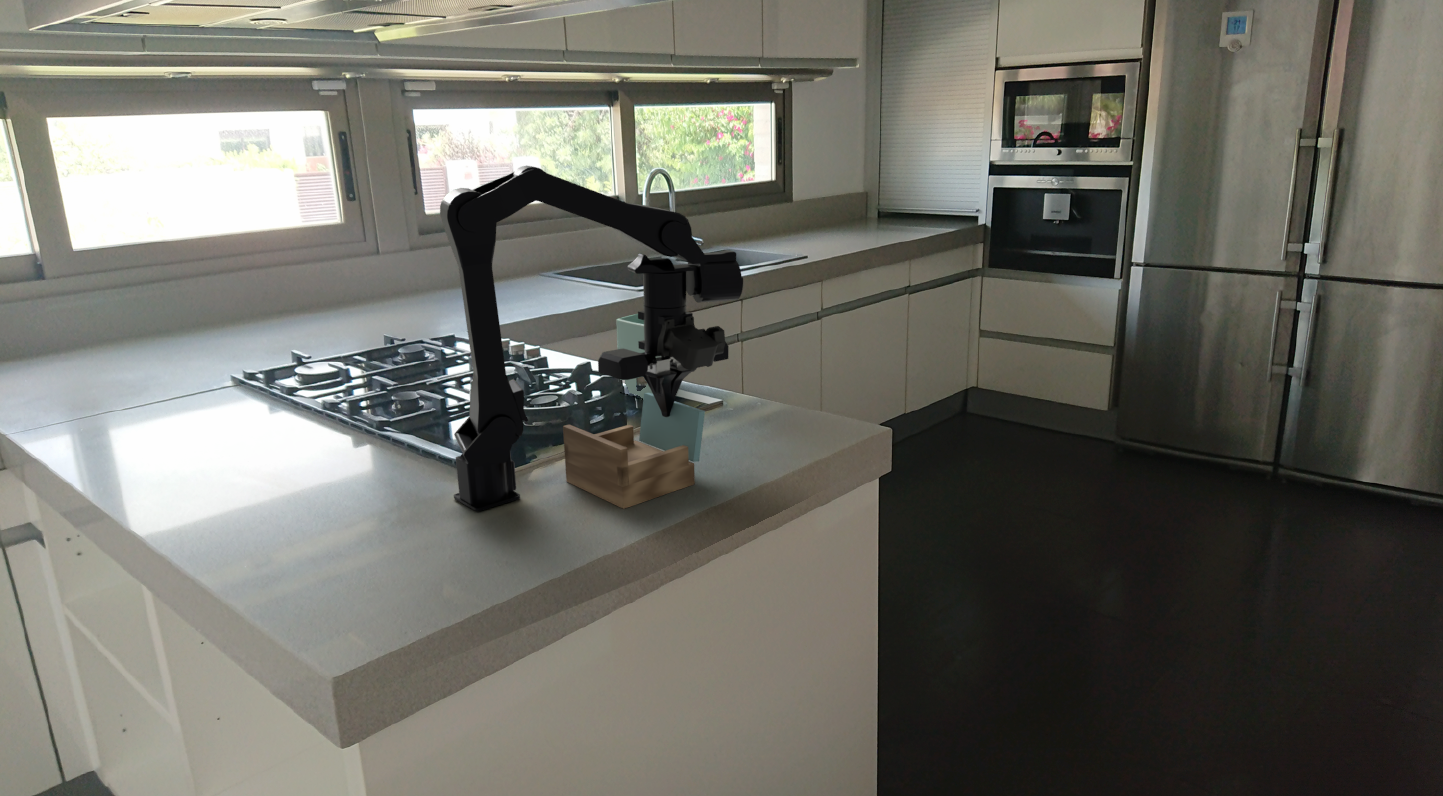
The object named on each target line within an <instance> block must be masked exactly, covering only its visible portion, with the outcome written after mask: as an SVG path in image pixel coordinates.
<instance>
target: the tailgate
mask: <svg viewBox="0 0 1443 796" xmlns="http://www.w3.org/2000/svg"><path fill="white" fill-rule="evenodd" d="M705 413H706V410H703V409H699V408H696V407H693V406H691V405H687V404H684V403H681V402H678V401H674V403H673V406H672V409H671V412H670V416H669V417H664V416H662V413H661V410H660V408H659V406H658V404H657V402H656V399H655V397H654V395H653V394H651V393H644V399H643V400H642V409H641V419H640V428H639V429H640V430H639V437H638V442H641V443H643V444H646V445H649V446H651V447H654V448H656V449H659V450H661V451H666V450H669V449H673V448H676V447H679V446H682V445H684V446H687V447H688V458H689V462H692V463H695V462H700V456H701V449H702V440H703V431H704V422H705V415H706V414H705Z"/></svg>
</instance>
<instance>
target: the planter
mask: <svg viewBox="0 0 1443 796" xmlns="http://www.w3.org/2000/svg"><path fill="white" fill-rule="evenodd" d="M615 321H616V324H615V325H616V342H617V343H616V345H617V349H623V348H624V349H627V350H631V351H634V352H638V353H643V352H645V350H642V349H639V345H638V341H643V340H644V320H641V319H638V313H635V314H630V315H626V316H623V317H620V318H617V319H615ZM658 357H661V356H657V357H656V358H658ZM625 384H626V386H627V387H628V390H629V392H630V393H632V394H635V395H636V394H637V395H638V396H640V397H641V398H643V399H644V393H651V394H653V393H652V391H651V389H650V387H649V386H648V384H647V385H646V387H645V388H643V389H642V390H641V391H637V390H636V378H634V379H630V380H625Z"/></svg>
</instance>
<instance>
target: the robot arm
mask: <svg viewBox="0 0 1443 796" xmlns="http://www.w3.org/2000/svg"><path fill="white" fill-rule="evenodd" d="M533 202H540V203H542V204H546V205H548V206H551V207H554V208H557V209H559V210H562V211H565V212H568V213H570V214H573V215H575V216H579V217H582V218H584V219H587V220H590V221H593V222H595V223H599V224H601V225H604V226H607V227H609V228H612V229H613V230H616V231H617V232H619V233H620V234H621V235H624V236H625V237H626V238H628V239H630V240H632V241H633V242H635V243H637V244H638V245H640V246H642V247H644V248H646V249H647V250H649V251H652V252H654V253H656V254H659V255H662V256H665V257H664V258H648V256H647V255H646V254H643V253H638V254H637V257H636V258H635V259H634V260H632V262H631V263H629V264H628V265H627V270H628V271H629V272H632V273H634V274H636V275H642V277H643V278H642V279H643V283H642V284H643V286H642V288H643V290H642V291H643V310H639V311H637V314H638V319H641V320H644V340H643V341H638V345H639V349H642V350H645V352H643V353H638V352H634V351H631V350H627V349H624V348H623V349H618V348H617V349H613V350H608V351H602V352H601V354H600V355H599V357H598V359H597V365H598V366H597V369H598V371H597V373H599V374H602V375H605V376H609V377H611V378H615V379H618V380H619V379H620V380H630V379H634V378H639V377H644V379H645V381H646V382H647V384H648V386H649V387H650V389H651V391H652V393H653V395H654V397H655V399H656V402H657V404H658V406H659V408H660V410H661V413H662V416H664V417H669V416H670V412H671V409H672V406H673V403H674V401H675V400H676V397H677V394H678V392H679V390H680V387H681V385H682V382H683V380H684V379H685V378H686V377H688V376H689V374H691V373H694V372H695V371H696V370H697V369H700V368H703V367H704V368H705V367H707V368H709V367H712V366H713V364H714V363H716V362H720V361H725V360H726V361H727V360H729V356H730V352H729V351H730V350H729V349H730V348H729V345H728V343H727V342H726V332H725V329H723V328H722V327H720V325H715V326H710V327H707V329H705V328H700V329H698V327H696V326H695V318H694V316H693V312H689V311H687V295H689V296H690V297H692V298H693V299H694V301H695V302H696V303H711V302H728V301H738V300H739V299H740V297H742V293H743V289H744V277H743V276H742V272H741V268H740V265H739V262H738V260H737V252H736V251H733V250H731V249H726V250H721V251H716V252H715V251H714V252H713V251H712V252H704V251H703V249H702V248H701V247H700V245H698V243H697V241H695V239H694V237H693V234H692V233H693V232H692V226H691V224H690V221H689V219H688V217H686V216H684V215H683V214H682V213H680V212H676V211H672V210H668V209H664V208H659V207H654V206H649V205H643V204H638V203H632V202H627V201H622V200H619V199H617V198H615V197H612V196H609V195H607V194H604V193H601V192H599V191H596V190H593V189H590V188H588V187H584V186H582V185H581V184H578V183H574V182H572V181H568V180H566V179H563V178H561V177H558V176H555V175H554V174H550V173H548V172H546V171H545V170H543V169H542V168H540V167H536V166H532V165H523V166H520V167H518V168H517V169H516V170H515V171H512V172H510V173H508V174H505V175H503V176H501V177H498V178H496V179H493V180H491V181H488V182H486V183H483V184H481V185H478V186H477V187H475V188H473V189H471V188H469V187H459V188H456V189H453V190H452V189H451V191H450V192H448V193H447V194H446V195H445V197H444V198H443V199H442V200H441V202H440V205H439V214H440V215H439V216H440V219H441V222H442V224H443V228H444V232H445V234H446V236H447V240H448V243H449V245H450V248H451V250H452V253H453V255H454V258H455V260H456V264H457V266H458V273H459V280H460V285H461V286H460V287H461V294H462V302H463V308H464V315H465V322H466V323H465V324H466V328H467V329H466V330H467V337H468V344H469V350H470V359H471V365H472V381H471V387H470V388H471V389H470V395H469V396H470V397H469V416H468V417H467V419H466V420H465V421H464V422H463V423H462V424H461V425H460V427H459V428H458V429H457V430H456V431H455V432H454V437H455V439H456V440H455V441H457V443H458V444H457V445H458V446H459V448H460V451H461V452H462V454H461V455H459V456H458V455H457V456H456V457H455V464H456V474H457V475H456V476H457V483H458V484H457V485H458V492H457V493H454V494H453V499H454V500H456V501H457V502H459V503H461V504H463V505H464V506H466V507H468V508H470V509H471V510H473V511H474V512H481V511H485V510H488V509H490V508H494V507H497V506H500V505H504V504H507V503H508V504H509V503H510V502H513V501H514V502H515V501H517V500H520V499H521V494H520V493H518V492H516V491H517V490H516V489H517V479H516V466H515V461H514V460H512V456H511V450H512V447H513V445H515V443H517V441H518V440H519V439H520V438H521V437H522V436H523V432H524V422H526V423H527V422H528V421H529V418H528V417H527V415H526V413H525V407H524V405H525V392H524V391H525V390H524V389H523V388H522V387H521V386H520V385H519V383H518V382H517V381H516V380H515V378H514V379H510V380H509V378H508V376H507V372H506V363H505V357H504V355H505V354H504V347H503V340H502V332H501V325H500V318H499V309H498V304H497V303H498V302H497V295H496V288H495V280H494V272H493V260H494V256H495V255H494V254H495V248H496V243H497V242H496V241H497V225H498V224H497V223H499V222H501V221H503V220H505V219H507V218H508V217H511V216H512V215H514V214H515V213H517V212H519V211H520V210H522V209H523V208H525V207H526V206H528V205H530V204H531V203H533ZM668 257H674V258H677V259H679V260H681V261H685V262H687V263H683V264H681V263H679V264H674V263H673V261H672V260H671V259H670V258H668ZM657 356H661V357H658V358H656V357H657Z"/></svg>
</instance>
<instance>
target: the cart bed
mask: <svg viewBox="0 0 1443 796" xmlns="http://www.w3.org/2000/svg"><path fill="white" fill-rule="evenodd" d="M562 432H563V434H562V435H563V447H564V464H565V465H564V466H565V479H566V480H565V481H566V482H567V483H569V484H571V485H573V486H575V487H577V488H578V489H582V490H584V491H586V492H588V493H589V494H592V495H594V496H596V497H598V498H600V499H602V500H603V501H607V502H609V503H610V504H613V505H615V506H617V507H618V508H620V509H622V510H624V509H627V508H630V507H633V506H636V505H639V504H641V503H644V502H647V501H650V500H653V499H656V498H658V497H662V496H664V495H665V496H666V495H667V494H670V493H673V492H676V491H679V490H681V489H685V488H687V487H690V486H694V485H695V483H696V478H695V462H693V461H690V460H689V458H688V447H687V446H684V445H682V446H679V447H676V448H673V449H669V450H666V451H664V450H662V449H659V448H657V447H654V446H651V445H649V444H646V443H644V442H641V441H639V440H635V438H634V436H635V434H634V433H635V432H634V426H633V425H632V424H626V425H623V426H620V427H616V428H613V429H609V430H605V431H602V432H598V433H595V434H593V433H591V432H589V431H587V430H584V429H581V428H578V427H577V426H574V425H571V424H566V425H562Z"/></svg>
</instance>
